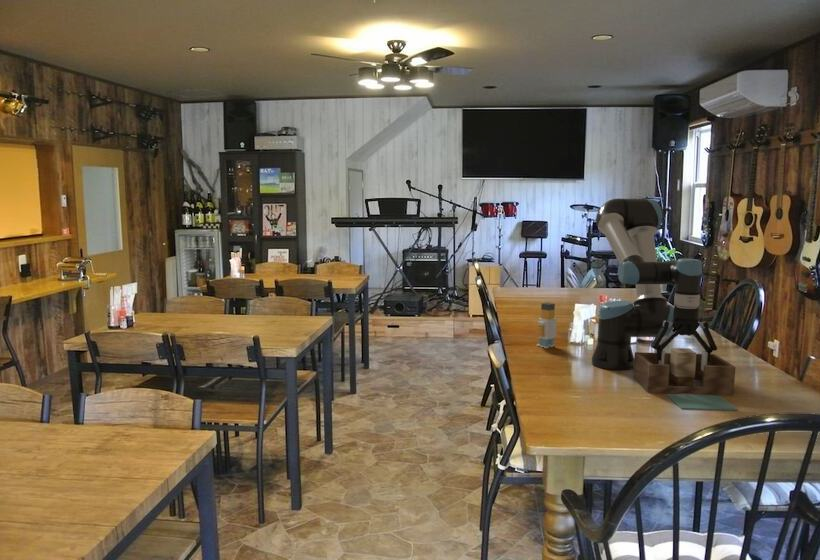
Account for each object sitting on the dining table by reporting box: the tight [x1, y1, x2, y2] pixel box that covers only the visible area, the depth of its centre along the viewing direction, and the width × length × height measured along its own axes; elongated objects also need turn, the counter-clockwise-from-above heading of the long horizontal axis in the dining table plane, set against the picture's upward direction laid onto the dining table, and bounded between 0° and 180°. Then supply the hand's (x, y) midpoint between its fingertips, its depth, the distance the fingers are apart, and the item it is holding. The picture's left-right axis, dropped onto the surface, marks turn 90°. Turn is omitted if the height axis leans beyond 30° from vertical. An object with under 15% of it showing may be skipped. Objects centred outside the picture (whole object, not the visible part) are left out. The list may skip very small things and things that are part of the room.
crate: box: [632, 351, 737, 396], centre depth 209 cm, size 26×16×9 cm, turn 86°
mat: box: [666, 393, 738, 412], centre depth 193 cm, size 16×13×1 cm
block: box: [670, 347, 697, 377], centre depth 209 cm, size 6×6×8 cm
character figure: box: [536, 302, 558, 349], centre depth 263 cm, size 8×10×18 cm
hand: (682, 370), depth 209 cm, fingers open, 13 cm apart
